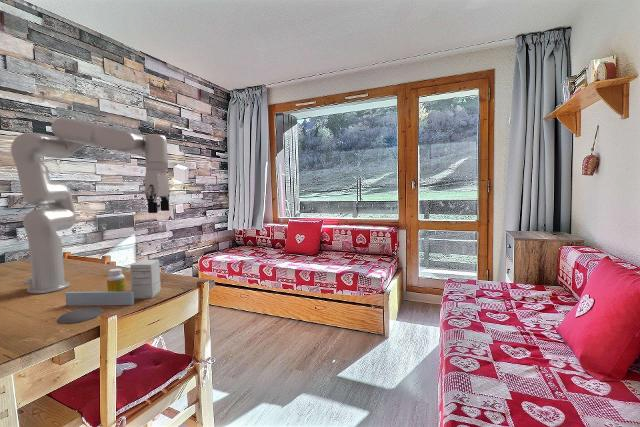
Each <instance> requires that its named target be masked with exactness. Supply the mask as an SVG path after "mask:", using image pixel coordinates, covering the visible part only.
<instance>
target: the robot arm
mask: <svg viewBox="0 0 640 427" xmlns="http://www.w3.org/2000/svg"><path fill="white" fill-rule="evenodd" d="M50 130H51V132H52V133H53V135H50V134H46V133H39V132H24V133H21V134H19V135H17V136H16V137H15V138H14V140H13V141H12V143H11V146H10V153H11V155H12V156H11V157H12V159H13V162H14V164H15V167H16V170H17V173H18V174H17V175H18V180H19V186H20V189H21V195H22V197H23V200H24V201H25V202H26V203H27V205H28V204H29V205H31V206H48V207H45V208H37V209H34V210H30V211H29V212H27V213H26V215H25V216H24V217H23V219H22V220H23V221H22V222H23V223H22V224H23V228H24V230H25V233H26V236H27V242H28V250H29V260H30V261H29V262H30V272H31V273H30V274H31V277H28V278H25V280H24V281H23V282H22V284H23V285H29V287H28V288H27V289H26V290H27V293H28V294H32V295H33V294H35V295H37V294H47V293H53V292H57V291H61V290H64V289H67V288H68V287H70V284H71V283H70V282H71V281H68V280H65V269H64V268H65V267H64V255H63V245H62V244H63V243H62V240H61V238H60V236H59V235H58V232H60V231H65V230H69V229H71V228H72V227H73V226H74V225H75V223H76V220H77V218H76V211H75V206H74V200H73V196H72V192H71V189H69V186H67V185H66V184H65V183H64V182H61V181H57V180H51V178H50V176H49V170H48V168H47V165H45V162H44V161H43V160H42V159H41V157H44V158H54V159H64V158H67V157H70V156H72V155H73V154H75V153H76V152H78V151H79V150H81V149H83V148H85V147H86V146H88V147H93V148H103V149H108V150H112V151H116V152H120V153H121V152H122V153H127V154H133V155H139V156H143V155H144V157H145V158H144V159H145V175H144V176H145V178H144V195H145V198H146V203H147V211H148V214H158V202H157V200H158V198H159V199H160V201H159V202H160V211H161V212H169V211H170V191H171V190H170V186H169V176H168V172H169V167H168V166H169V163H168V142H167V137H166V136H165V135H163V134H157V133H147V134H146V135H140V134H137V133H133V132H131V131H126V130H121V129H116V128H112V127H108V126H103V125H102V124H101V125H100V124H97V123H92V122H87V121H82V120H78V119H74V118H69V117H61V118H60V117H59V118H57V119H55V120H53V122H52V123H51V126H50Z"/></svg>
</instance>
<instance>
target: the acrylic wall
mask: <svg viewBox="0 0 640 427" xmlns="http://www.w3.org/2000/svg"><path fill="white" fill-rule="evenodd" d="M64 294H65V305H66V306H70V307H71V306H133V305H135V298H134V291H132V290H125V291H108V290H107V291H66V292H65V293H64Z"/></svg>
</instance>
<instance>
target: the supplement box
mask: <svg viewBox="0 0 640 427" xmlns="http://www.w3.org/2000/svg"><path fill="white" fill-rule="evenodd" d="M129 267H130V280H131V282H130V284H131V285H130V286H131V291H134V299H153V298H154V297H156V296H157V295H158V294H159V293H160V292H161V291H162V286H161V271H160V270H161V269H160V259H140V260H138V261H136V262H134V263H131V264H130V266H129Z"/></svg>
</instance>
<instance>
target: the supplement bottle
mask: <svg viewBox="0 0 640 427" xmlns="http://www.w3.org/2000/svg"><path fill="white" fill-rule="evenodd" d="M125 281H126V280H125V275H124V274H123V270H122V268H121V267H120V268H119V267H117V268H111V269H108V276H107V277H106V283H107V284H106V285H107V291H126V282H125Z"/></svg>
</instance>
